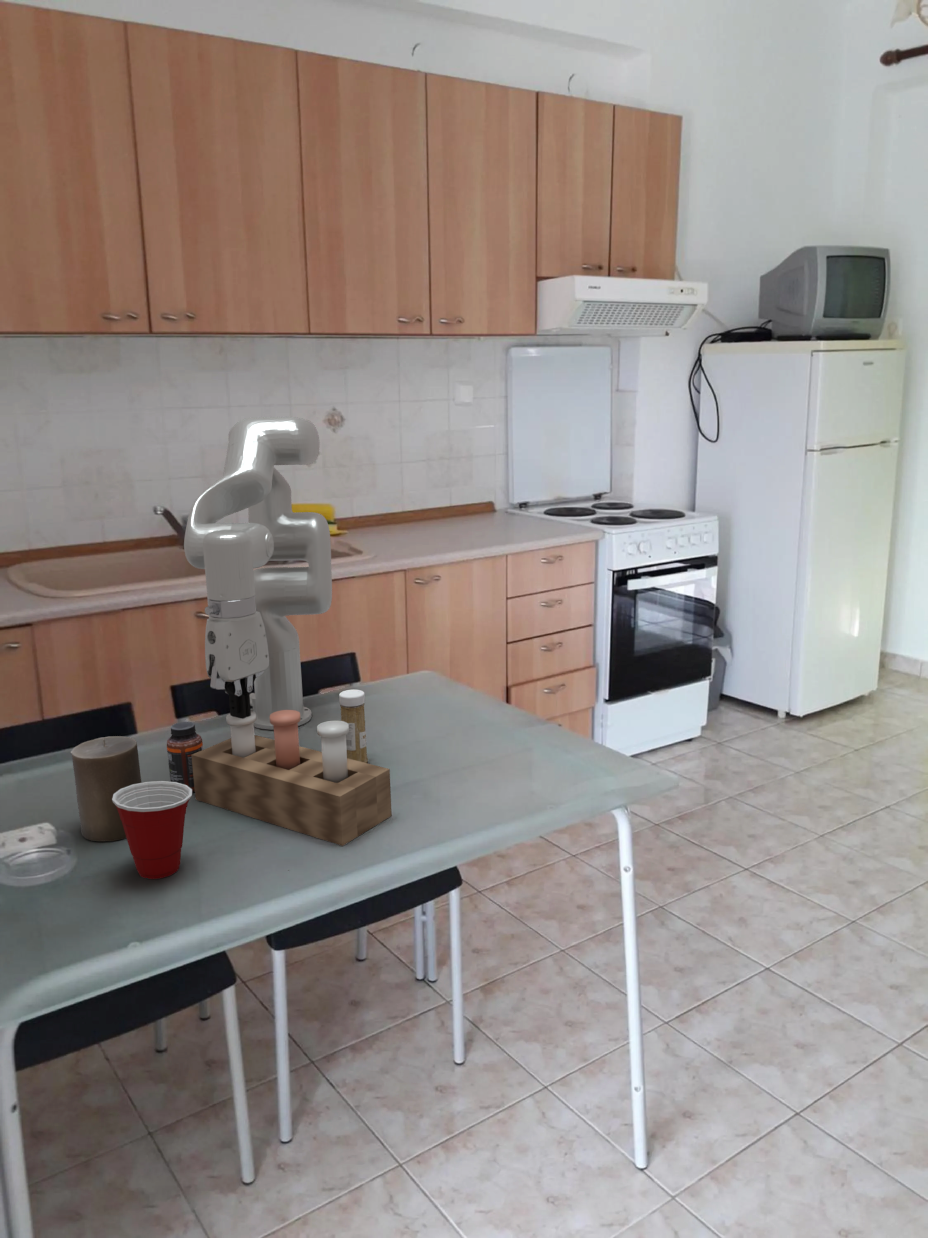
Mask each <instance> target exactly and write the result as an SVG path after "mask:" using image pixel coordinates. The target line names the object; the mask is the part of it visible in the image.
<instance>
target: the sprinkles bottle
mask: <svg viewBox="0 0 928 1238" xmlns="http://www.w3.org/2000/svg"><path fill="white" fill-rule="evenodd" d="M338 701H339V702H338V703H339V706H340V721H344V722H346V723H348V725H349V732H348V733H347V734H346V749H347V758H348V759H352V760H356V761H360V762H364V763H368V761H369V759H368V750H367V749H368V748H367V744H368V743H367V731H366V729H367V728H366V720H365V718H366V717H365V703H366V696H365V691H363V690H360V689H347V690H342V691H341V692H340V693H339V695H338Z"/></svg>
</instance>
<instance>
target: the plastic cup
mask: <svg viewBox="0 0 928 1238" xmlns="http://www.w3.org/2000/svg"><path fill="white" fill-rule="evenodd" d="M192 797H193V792H192V789H191V788H189V787H188V786H187V785H184V784H181V783H177V782H171V781H167V780H166V781H165V780H158V781H157V780H156V781H145V782H142V783H139V784H133V785H130V786H127V787H125V788H122V789H120V790H119V791H117V792H116V793H114V794H113V798H112V801H113V803H114V804H115V805H116V807H117V810H118V813H119V815H120V819H121V821H122V824H123V827H124V831H125V834H126V838H125V839H126V841H127V844H128V847H129V851H130V855H132V858H133V862H134V865H135V868H136V871H137V873H138V875H139V876H140V877H141V878H144V879H146V878H148V880H157V879H164V878H167V877H170V876H172V875H173V874H175V873H177V871H178V870H179V869H180V865H181V860H182V859H181V856H182V848H183V842H184V840H183V839H184V829H185V828H184V827H185V820H186V819H185V818H186V814H187V808H188V804H189V801H190V799H192Z"/></svg>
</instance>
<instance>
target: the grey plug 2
mask: <svg viewBox="0 0 928 1238" xmlns="http://www.w3.org/2000/svg"><path fill="white" fill-rule="evenodd" d="M316 731H317V732H316V733H317V736H319V737H320V742H321V752H322V763H323V779H324V780H327V781H331V782H334V783H339V782H341V781H343V780H344V779H346V778H348V768H347V749H346V734H347V733H348V732H349V725H348V723H346V722H344V721H341V720H327V721H324V722H320V723H319V724H318V725H317V726H316Z"/></svg>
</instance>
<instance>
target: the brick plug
mask: <svg viewBox="0 0 928 1238" xmlns="http://www.w3.org/2000/svg"><path fill="white" fill-rule="evenodd" d="M300 720H301V719H300V712H298V711H295V710H280V711H276V712H273V713H272V714H270V723H271V724H272V725H273V726H274V730H273V740H275V753H276V767H279V768H283V769H287V770H290V769H292V768H294V767H296V766H298V765H300V752H299V746H300V739H299V738H300V737H299V726H298V722H300Z"/></svg>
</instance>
